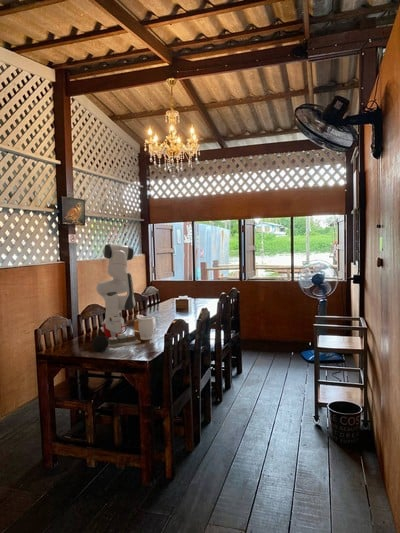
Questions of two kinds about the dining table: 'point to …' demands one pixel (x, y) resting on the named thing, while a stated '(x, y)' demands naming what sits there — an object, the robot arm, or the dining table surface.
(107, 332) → the ceramic cup
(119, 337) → the button two
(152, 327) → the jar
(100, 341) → the speaker
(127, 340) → the button board
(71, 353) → the dining table surface
